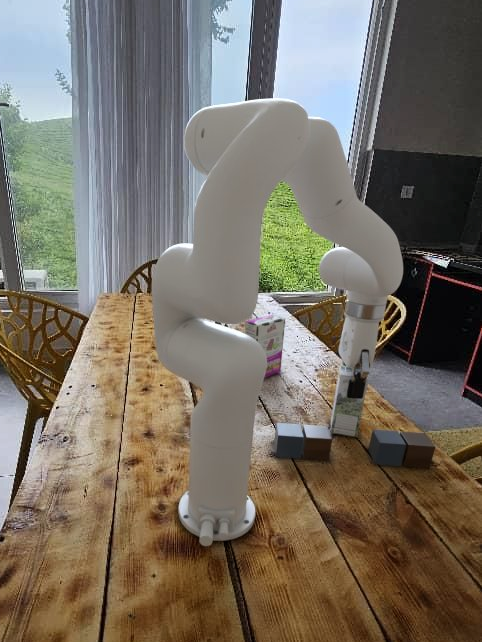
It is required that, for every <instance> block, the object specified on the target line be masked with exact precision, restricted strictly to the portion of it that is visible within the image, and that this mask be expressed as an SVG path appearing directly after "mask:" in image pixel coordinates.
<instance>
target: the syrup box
mask: <svg viewBox="0 0 482 642" xmlns="http://www.w3.org/2000/svg"><path fill="white" fill-rule="evenodd" d="M360 370H361V369H356V374H357V373H358V372H360ZM351 375H352V367H351V368H348V367H347V366H345V365H342V364H341V365H339V367H338V374H337V379H336V386H335V392H334V398H333V403H332V410H331V415H330V434H333V435H339V436H344V437H351V438H358V433H359V428H360V424H361V419H362V413H363V409H364V404H365V400H366V395H367V389H368V385H369V376H368V377H367V381H366V384H365V389H364V394H363V398H362V399H356V398H348V397H347V390H348V385H349V379H351Z"/></svg>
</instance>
